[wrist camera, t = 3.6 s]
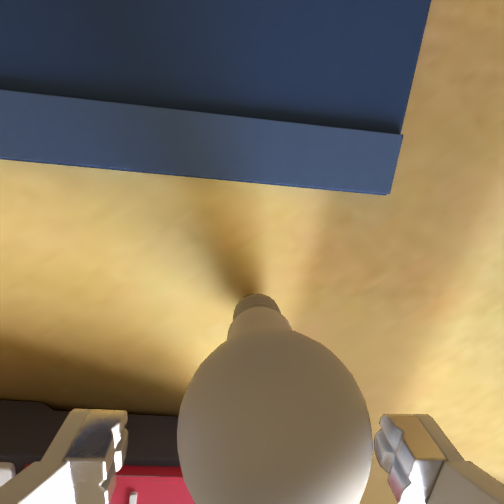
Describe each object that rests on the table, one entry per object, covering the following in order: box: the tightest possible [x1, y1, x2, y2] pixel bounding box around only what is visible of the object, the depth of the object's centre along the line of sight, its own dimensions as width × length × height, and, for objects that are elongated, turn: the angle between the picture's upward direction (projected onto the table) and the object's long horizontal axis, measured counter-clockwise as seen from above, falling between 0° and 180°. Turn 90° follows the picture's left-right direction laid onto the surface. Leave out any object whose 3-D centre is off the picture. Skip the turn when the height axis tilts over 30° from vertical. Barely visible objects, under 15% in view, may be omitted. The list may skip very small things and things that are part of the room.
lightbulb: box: [177, 294, 373, 504], centre depth 12 cm, size 6×6×11 cm
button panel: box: [0, 400, 195, 504], centre depth 19 cm, size 11×4×15 cm
